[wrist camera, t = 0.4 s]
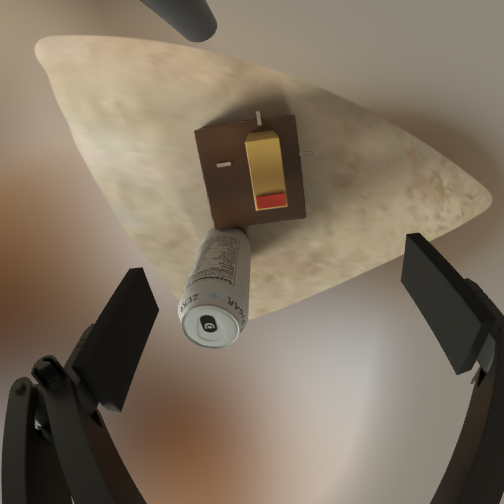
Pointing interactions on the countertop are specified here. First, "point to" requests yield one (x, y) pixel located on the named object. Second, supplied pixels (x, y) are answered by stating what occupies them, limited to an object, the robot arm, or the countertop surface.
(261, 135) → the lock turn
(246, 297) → the energy drink can
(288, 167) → the plate
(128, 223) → the countertop surface
